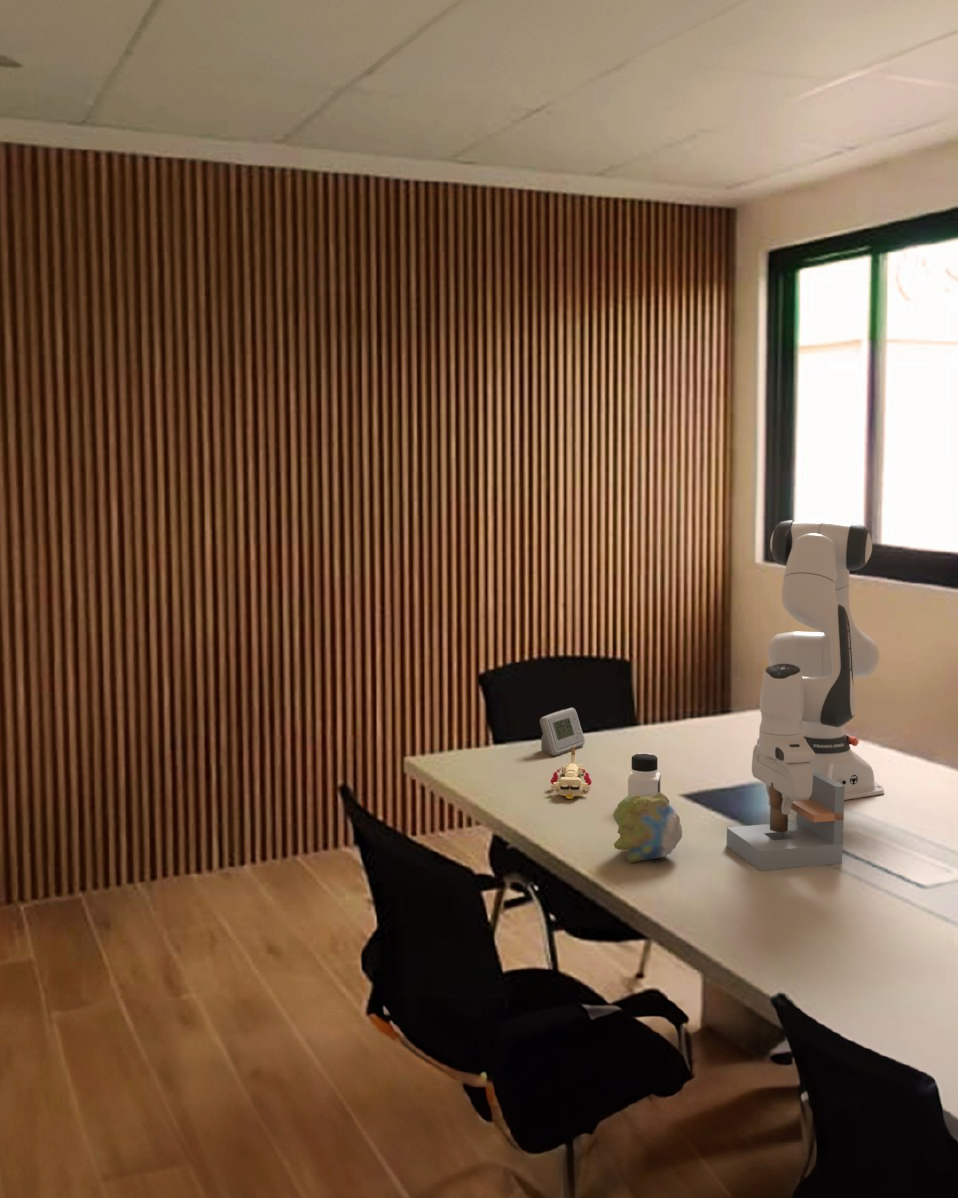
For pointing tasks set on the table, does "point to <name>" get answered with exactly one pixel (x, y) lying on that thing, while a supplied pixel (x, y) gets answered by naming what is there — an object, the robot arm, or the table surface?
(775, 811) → the peg
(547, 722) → the digital clock
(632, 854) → the relief earth globe
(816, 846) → the station
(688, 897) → the table surface
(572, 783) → the cream toy figure
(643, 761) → the medicine bottle
